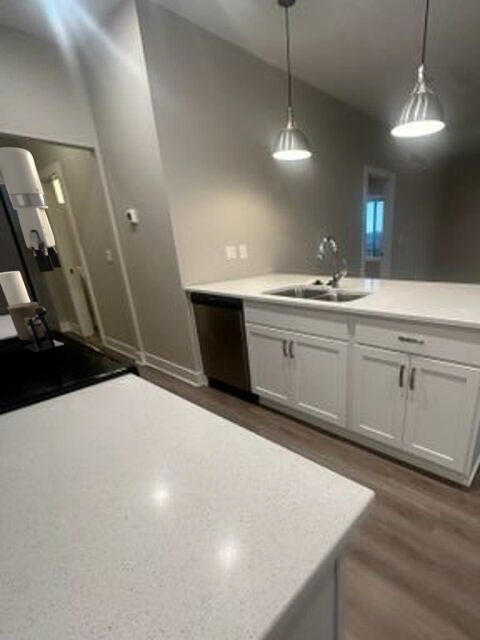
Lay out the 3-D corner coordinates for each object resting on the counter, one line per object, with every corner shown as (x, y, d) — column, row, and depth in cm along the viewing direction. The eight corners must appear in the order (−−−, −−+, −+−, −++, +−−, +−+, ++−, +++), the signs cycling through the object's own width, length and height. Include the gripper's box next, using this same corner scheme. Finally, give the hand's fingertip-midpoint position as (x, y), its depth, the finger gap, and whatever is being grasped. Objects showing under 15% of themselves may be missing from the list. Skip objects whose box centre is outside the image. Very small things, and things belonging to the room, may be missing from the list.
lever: (49, 313, 114) (44, 304, 114) (38, 315, 112) (33, 306, 112) (42, 326, 123) (38, 317, 123) (32, 328, 121) (27, 320, 121)
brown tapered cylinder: (52, 337, 137) (39, 300, 131) (22, 344, 130) (7, 305, 125) (47, 333, 143) (34, 297, 137) (18, 339, 137) (3, 302, 131)
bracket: (65, 347, 125) (55, 315, 120) (37, 355, 118) (24, 322, 113) (52, 341, 131) (42, 311, 127) (25, 349, 125) (13, 317, 120)
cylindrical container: (41, 329, 149) (20, 270, 140) (40, 333, 144) (18, 272, 134) (21, 332, 146) (-2, 272, 136) (19, 336, 140) (-5, 274, 131)
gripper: (22, 205, 96) (43, 267, 103) (0, 201, 81) (26, 274, 88) (53, 204, 99) (71, 265, 105) (38, 200, 84) (60, 271, 91)
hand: (51, 269), depth 97 cm, fingers open, 9 cm apart
